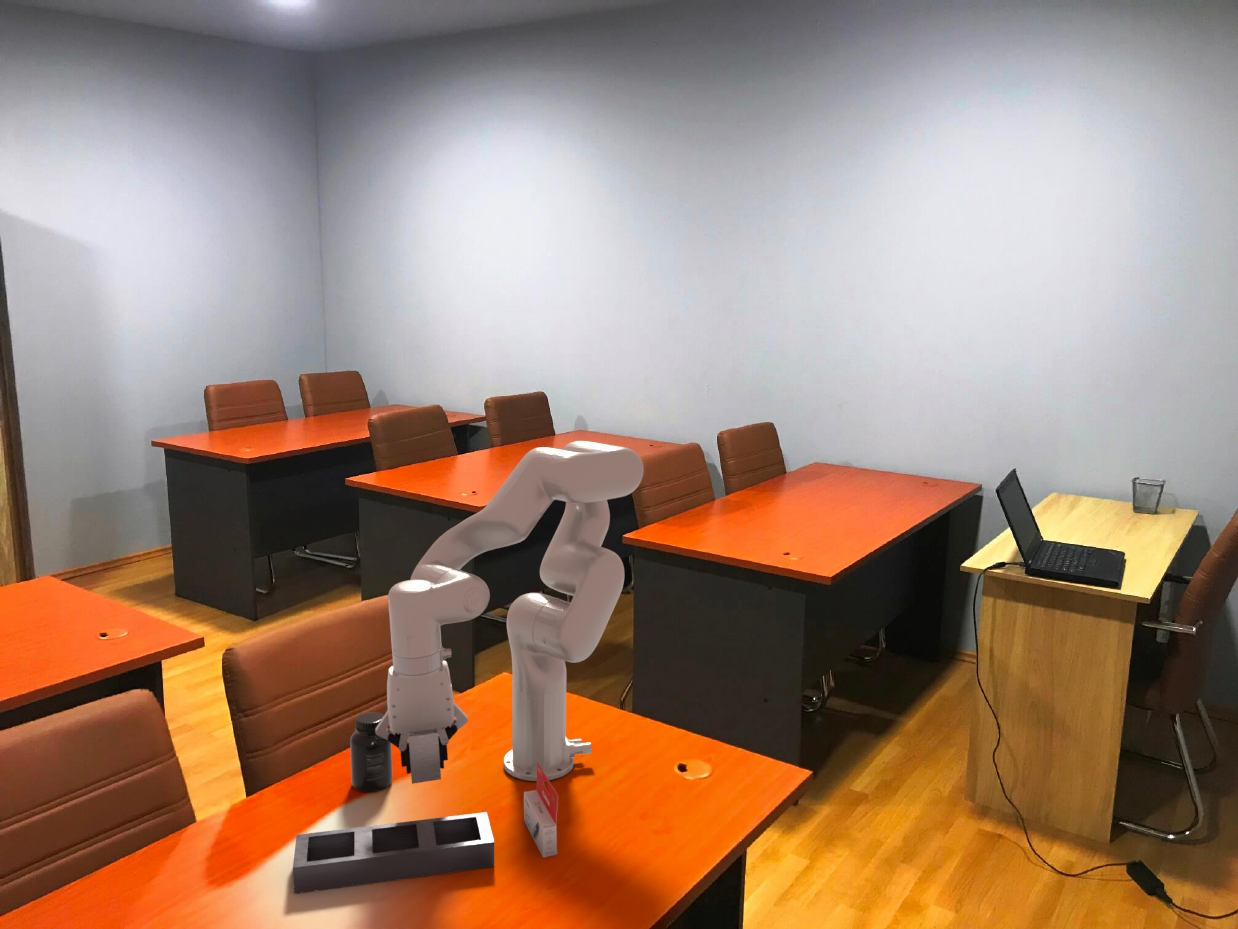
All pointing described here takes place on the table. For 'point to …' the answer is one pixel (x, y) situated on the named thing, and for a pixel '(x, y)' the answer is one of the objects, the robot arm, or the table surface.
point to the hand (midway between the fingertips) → (424, 766)
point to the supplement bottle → (370, 755)
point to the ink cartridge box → (542, 815)
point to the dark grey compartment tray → (392, 852)
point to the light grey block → (424, 756)
